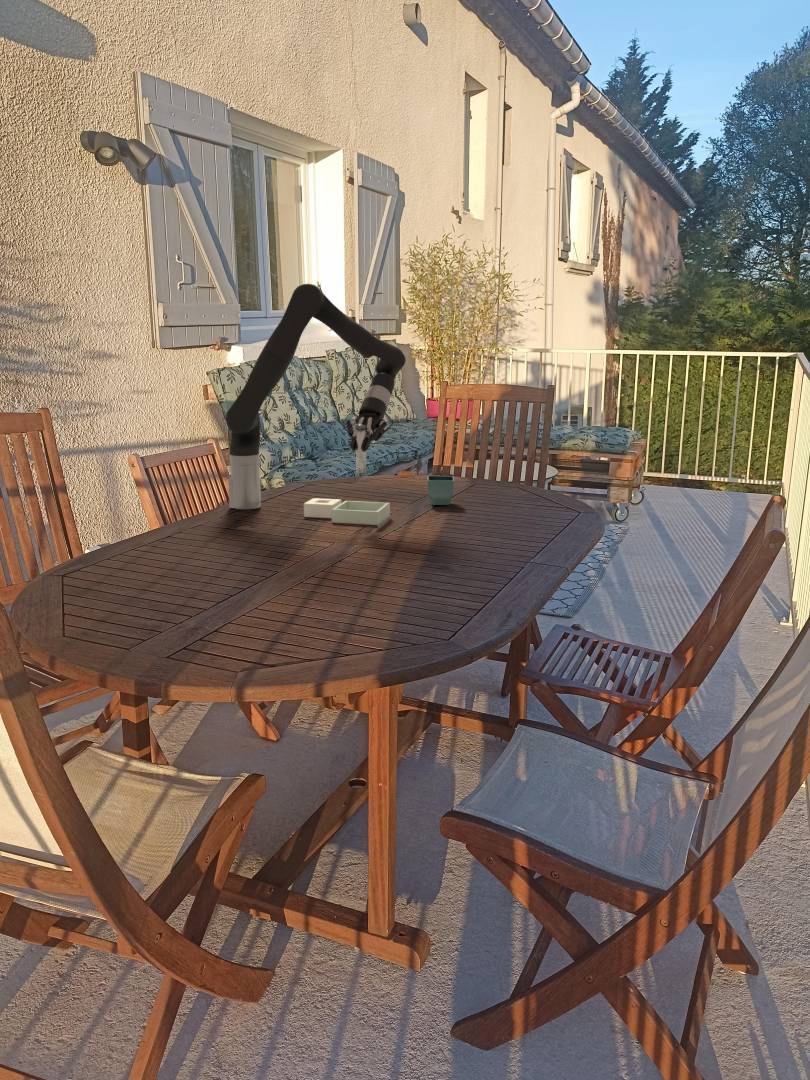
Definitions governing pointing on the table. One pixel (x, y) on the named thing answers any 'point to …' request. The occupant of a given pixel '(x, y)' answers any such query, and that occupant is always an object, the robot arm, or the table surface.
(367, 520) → the tray
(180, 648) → the table surface
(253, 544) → the table surface
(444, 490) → the flower pot
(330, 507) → the socket block
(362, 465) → the steel pin
